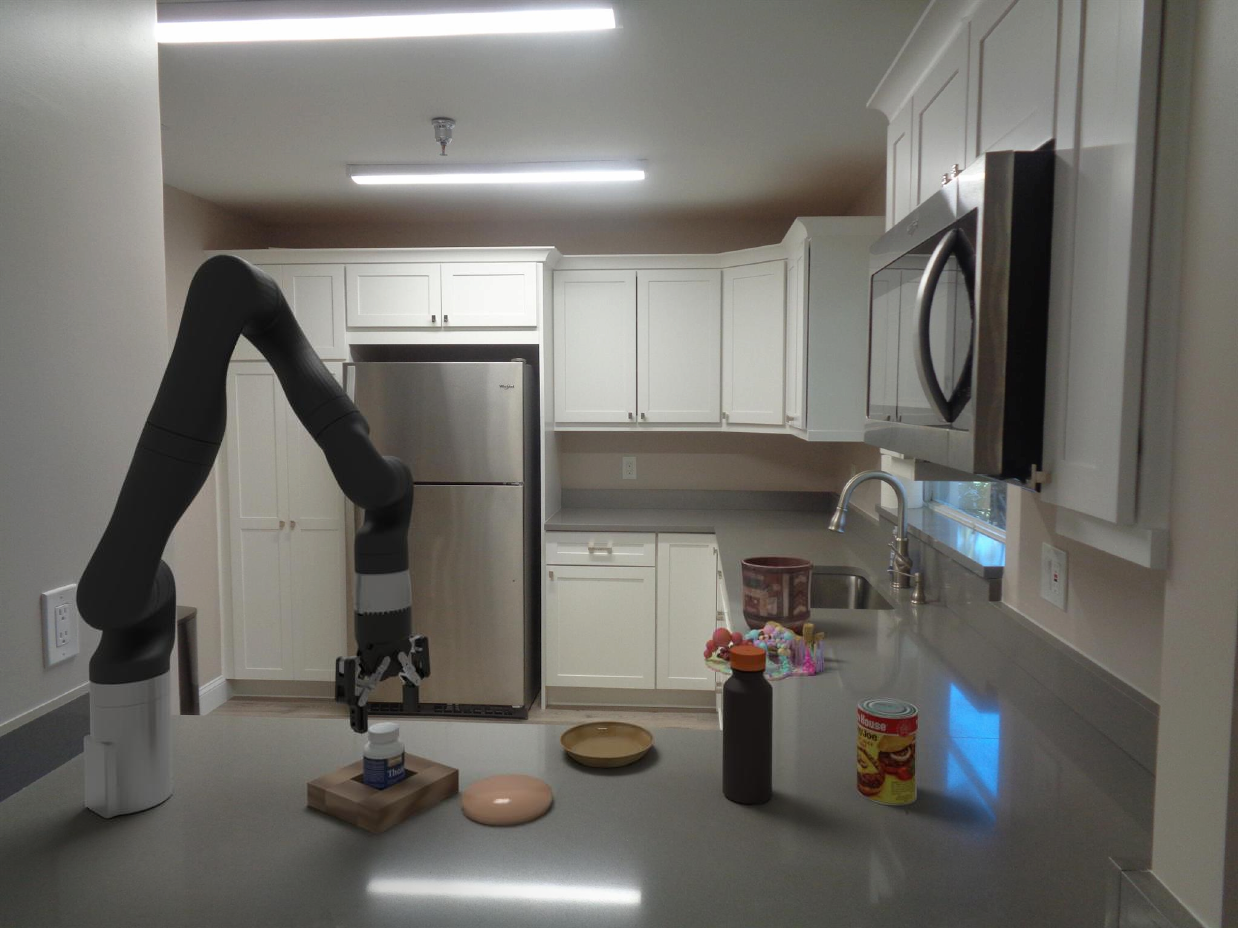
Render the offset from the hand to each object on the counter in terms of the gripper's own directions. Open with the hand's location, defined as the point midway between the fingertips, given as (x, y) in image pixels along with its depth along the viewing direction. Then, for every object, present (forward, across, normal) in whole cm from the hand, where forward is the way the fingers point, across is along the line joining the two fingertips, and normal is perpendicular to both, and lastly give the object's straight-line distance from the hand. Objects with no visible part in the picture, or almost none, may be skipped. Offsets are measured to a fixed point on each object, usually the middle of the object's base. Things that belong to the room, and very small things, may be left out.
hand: (386, 721), depth 105 cm
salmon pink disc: (+11, -8, +15) cm, 20 cm away
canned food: (+12, -38, +57) cm, 70 cm away
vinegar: (+11, -27, +41) cm, 51 cm away
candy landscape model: (+12, -87, +20) cm, 90 cm away
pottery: (+12, -114, +12) cm, 115 cm away
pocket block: (+10, 0, 0) cm, 10 cm away
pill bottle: (+11, 0, 0) cm, 11 cm away
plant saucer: (+11, -28, +17) cm, 35 cm away
